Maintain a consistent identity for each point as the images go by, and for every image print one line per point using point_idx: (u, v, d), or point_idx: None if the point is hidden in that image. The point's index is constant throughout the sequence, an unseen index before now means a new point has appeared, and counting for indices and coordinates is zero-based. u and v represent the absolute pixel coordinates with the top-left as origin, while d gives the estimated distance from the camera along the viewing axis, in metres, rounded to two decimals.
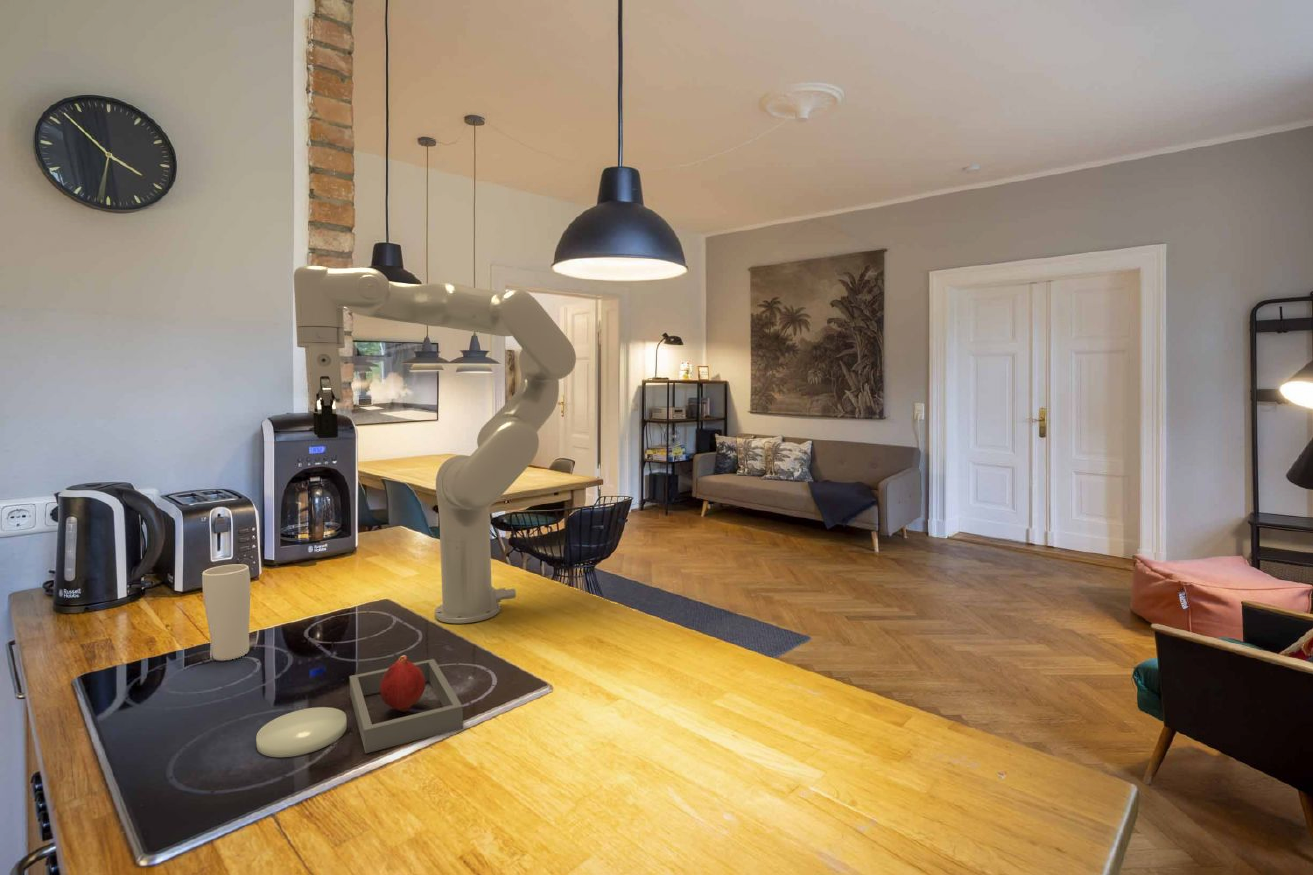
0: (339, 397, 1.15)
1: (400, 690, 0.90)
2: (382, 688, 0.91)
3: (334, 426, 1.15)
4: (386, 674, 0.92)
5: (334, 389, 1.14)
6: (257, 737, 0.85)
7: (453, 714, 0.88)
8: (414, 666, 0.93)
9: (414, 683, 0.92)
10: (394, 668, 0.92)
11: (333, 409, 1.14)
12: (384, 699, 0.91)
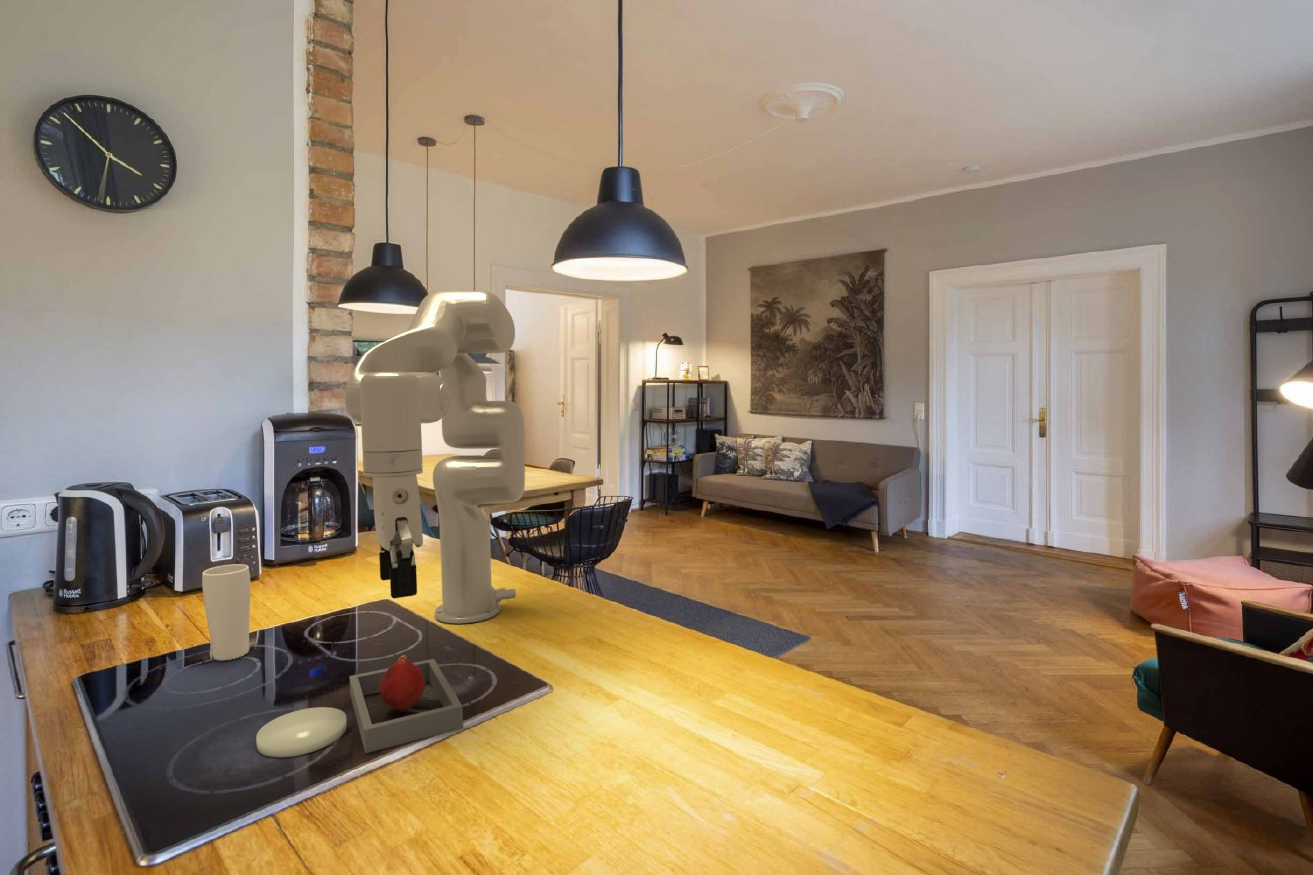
0: (419, 542, 0.88)
1: (400, 690, 0.90)
2: (382, 688, 0.91)
3: (412, 581, 0.88)
4: (386, 674, 0.92)
5: (413, 533, 0.88)
6: (257, 737, 0.85)
7: (453, 714, 0.88)
8: (414, 666, 0.93)
9: (414, 683, 0.92)
10: (394, 668, 0.92)
11: (412, 560, 0.87)
12: (384, 699, 0.91)
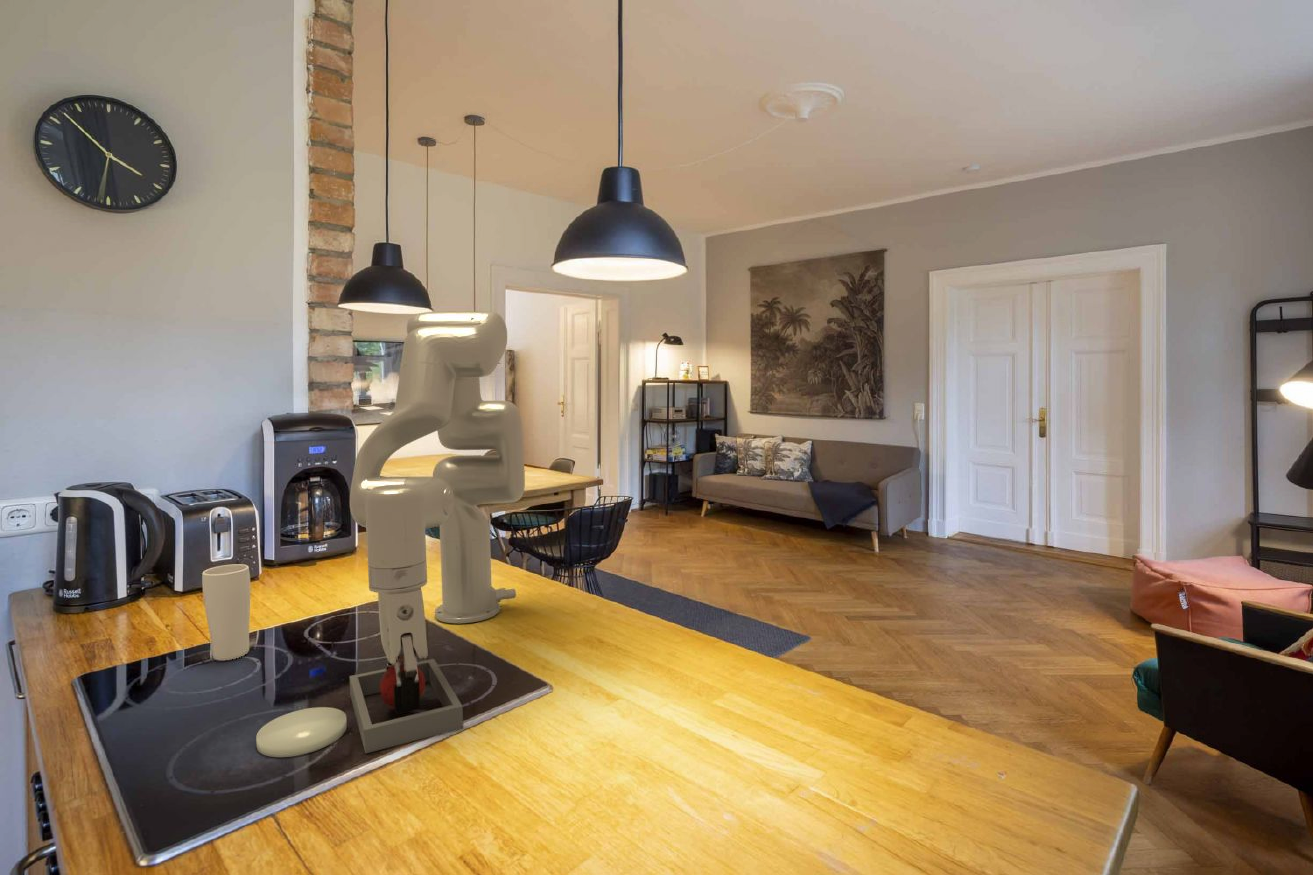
0: (424, 656, 0.90)
1: None
2: (382, 688, 0.91)
3: (416, 696, 0.91)
4: (386, 674, 0.92)
5: (418, 647, 0.89)
6: (257, 737, 0.85)
7: (453, 714, 0.88)
8: None
9: None
10: (393, 669, 0.92)
11: (415, 679, 0.90)
12: (384, 699, 0.91)
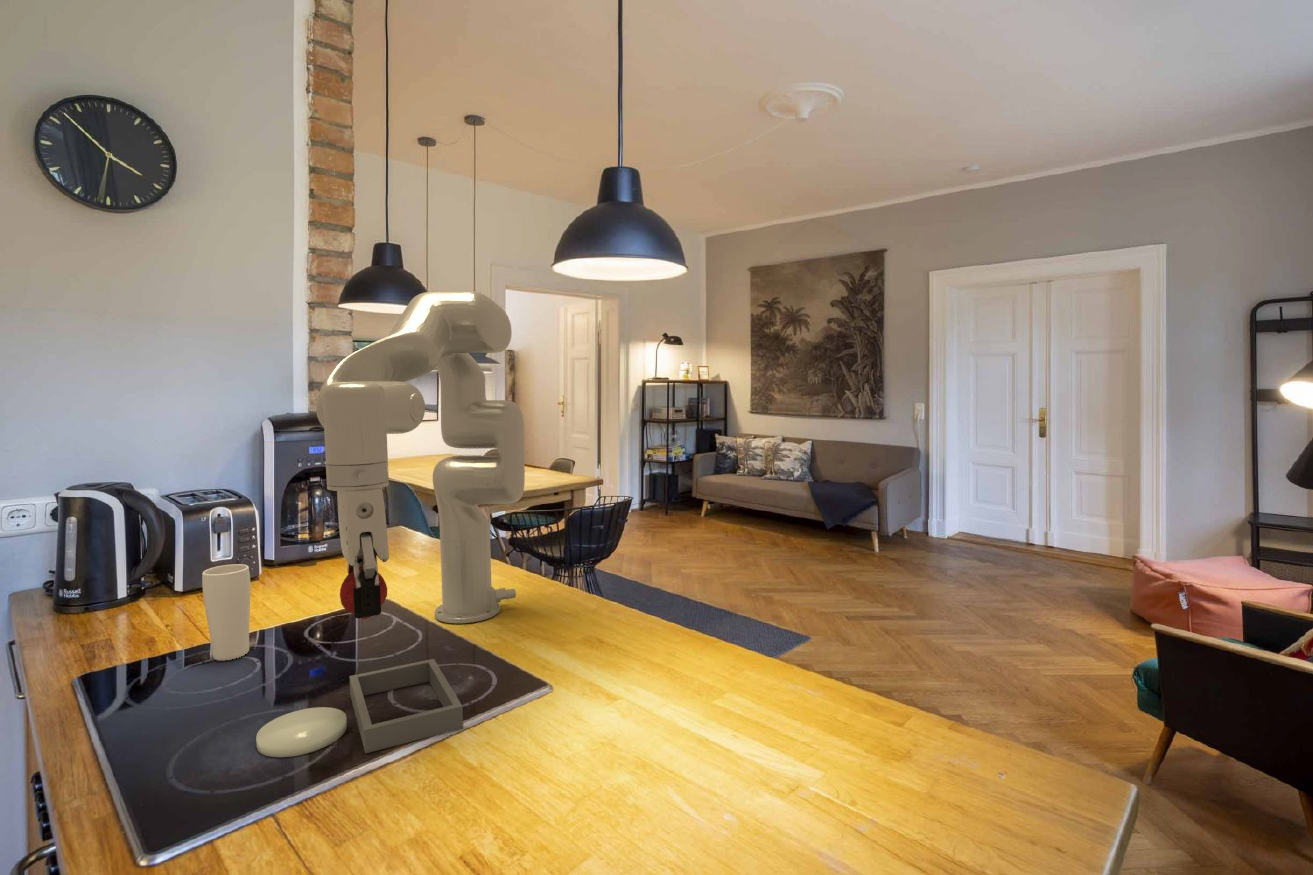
0: (384, 557, 0.86)
1: None
2: (341, 593, 0.88)
3: (376, 600, 0.87)
4: (346, 579, 0.88)
5: (378, 548, 0.86)
6: (257, 737, 0.85)
7: (453, 714, 0.88)
8: None
9: None
10: None
11: (376, 581, 0.86)
12: (344, 604, 0.88)
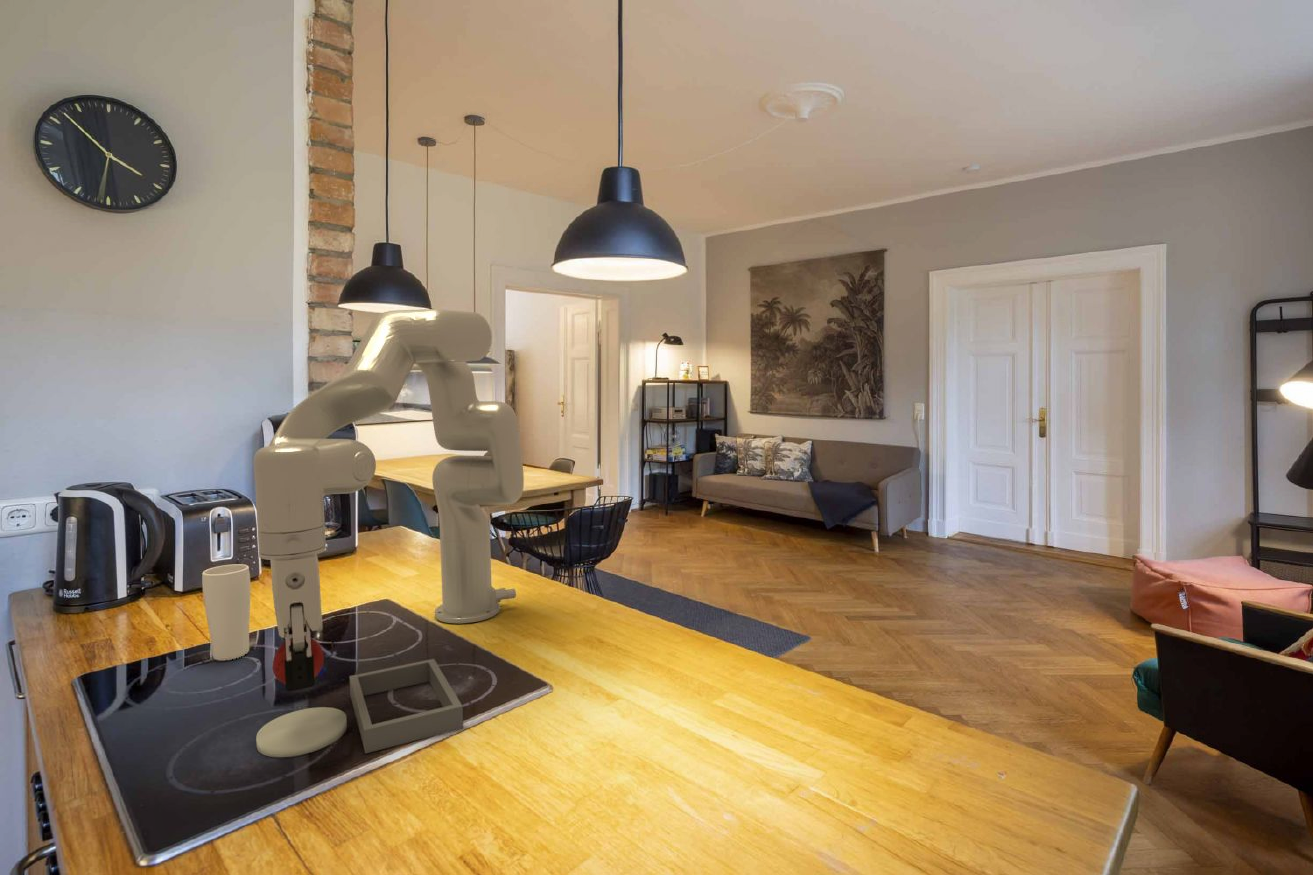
0: (317, 628, 0.83)
1: None
2: (274, 663, 0.84)
3: (309, 672, 0.84)
4: (279, 648, 0.85)
5: (310, 618, 0.82)
6: (257, 737, 0.85)
7: (453, 714, 0.88)
8: (311, 640, 0.86)
9: None
10: None
11: (308, 653, 0.83)
12: (276, 675, 0.84)
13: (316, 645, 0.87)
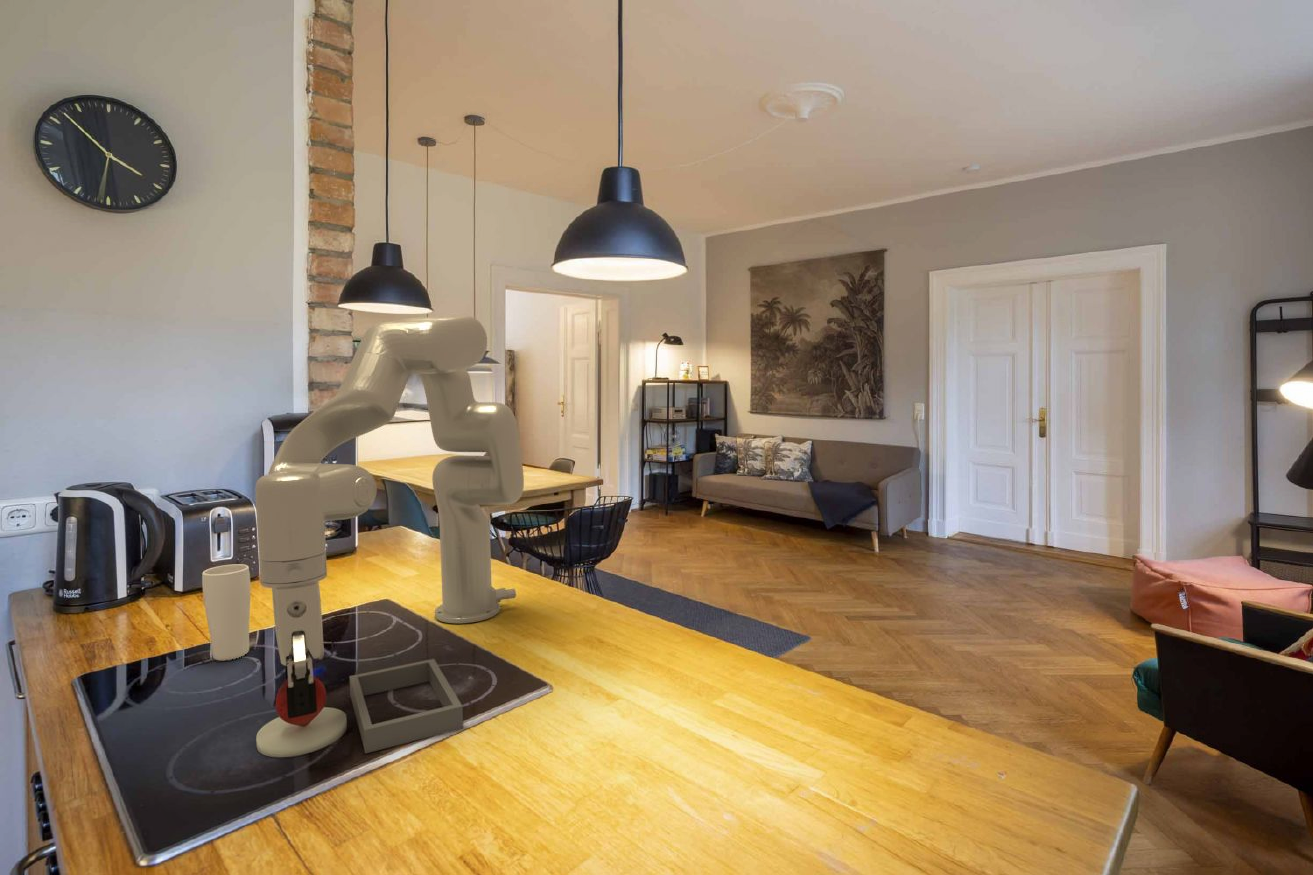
0: (318, 655, 0.83)
1: None
2: (276, 703, 0.85)
3: (311, 698, 0.83)
4: (281, 688, 0.85)
5: (311, 646, 0.83)
6: (257, 737, 0.85)
7: (453, 714, 0.88)
8: (313, 678, 0.87)
9: None
10: None
11: (310, 679, 0.82)
12: (279, 715, 0.85)
13: (318, 683, 0.87)
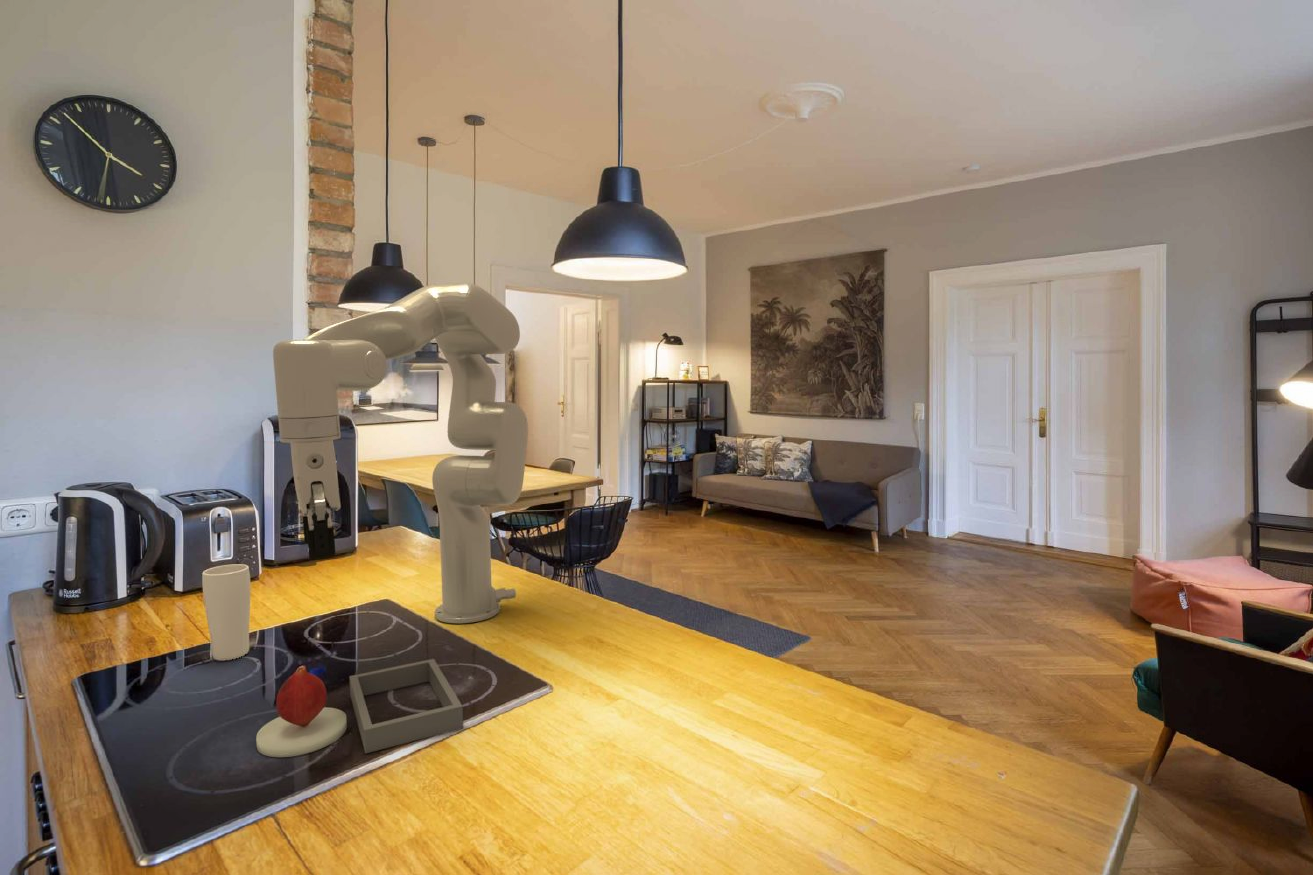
0: (336, 505, 0.91)
1: (297, 704, 0.84)
2: (278, 702, 0.85)
3: (330, 542, 0.91)
4: (282, 687, 0.86)
5: (329, 496, 0.91)
6: (257, 737, 0.85)
7: (453, 714, 0.88)
8: (314, 677, 0.87)
9: (313, 695, 0.85)
10: (290, 681, 0.86)
11: (328, 522, 0.90)
12: (280, 714, 0.85)
13: (319, 681, 0.87)
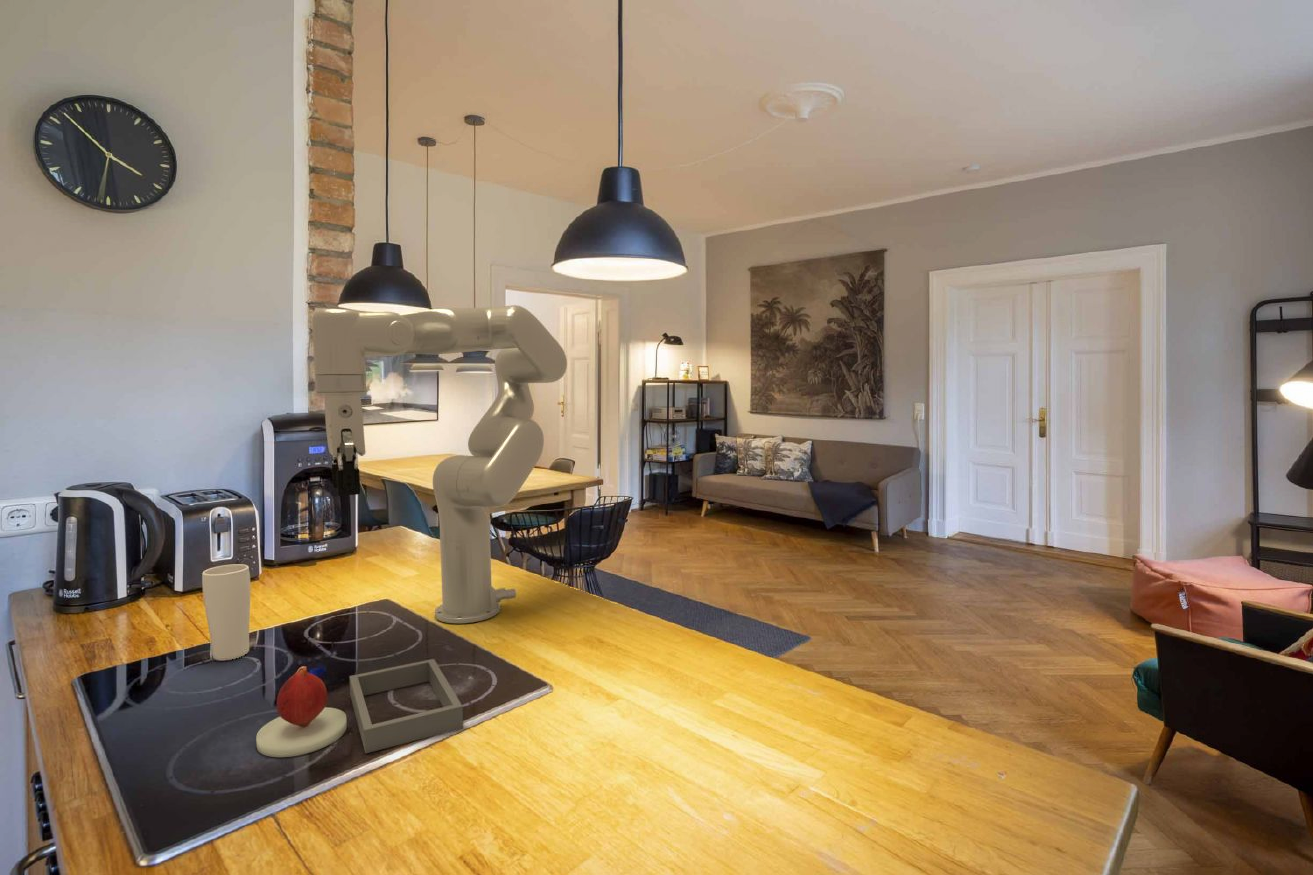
0: (361, 450, 1.06)
1: (298, 704, 0.84)
2: (278, 702, 0.85)
3: (356, 482, 1.06)
4: (283, 687, 0.85)
5: (356, 442, 1.06)
6: (257, 737, 0.85)
7: (453, 714, 0.88)
8: (315, 678, 0.87)
9: (314, 696, 0.85)
10: (291, 681, 0.85)
11: (355, 464, 1.05)
12: (280, 714, 0.85)
13: (320, 682, 0.87)
